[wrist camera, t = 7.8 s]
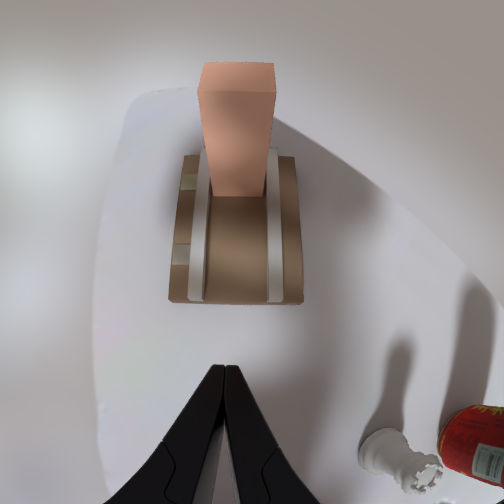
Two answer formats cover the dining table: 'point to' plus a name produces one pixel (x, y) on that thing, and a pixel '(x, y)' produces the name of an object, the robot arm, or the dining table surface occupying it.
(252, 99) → the slider tab
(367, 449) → the rook chess piece
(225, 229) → the wooden rail base
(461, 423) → the soda can
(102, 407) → the dining table surface
